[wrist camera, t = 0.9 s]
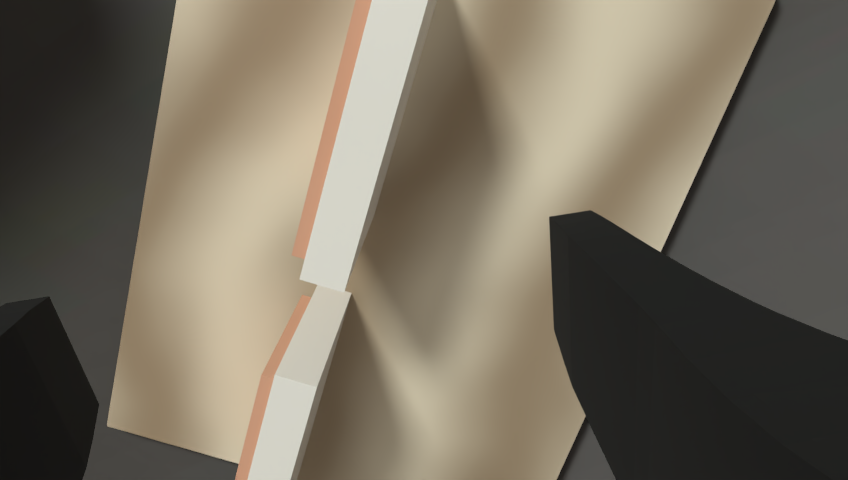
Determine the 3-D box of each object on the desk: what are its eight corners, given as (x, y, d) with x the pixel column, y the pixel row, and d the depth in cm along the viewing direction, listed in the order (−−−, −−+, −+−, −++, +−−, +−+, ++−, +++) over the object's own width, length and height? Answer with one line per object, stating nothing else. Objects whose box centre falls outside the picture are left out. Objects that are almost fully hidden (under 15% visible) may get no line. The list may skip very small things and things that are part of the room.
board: (773, -19, 22) (783, -17, 21) (524, 531, 30) (526, 546, 29) (219, -200, 21) (210, -205, 21) (116, 413, 29) (106, 425, 29)
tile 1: (445, -29, 22) (434, -22, 16) (374, 215, 25) (344, 293, 19) (392, -46, 22) (363, -44, 16) (327, 201, 25) (284, 274, 19)
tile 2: (351, 292, 26) (316, 387, 20) (299, 470, 29) (256, 595, 23) (307, 279, 26) (260, 370, 20) (260, 459, 29) (207, 581, 23)
